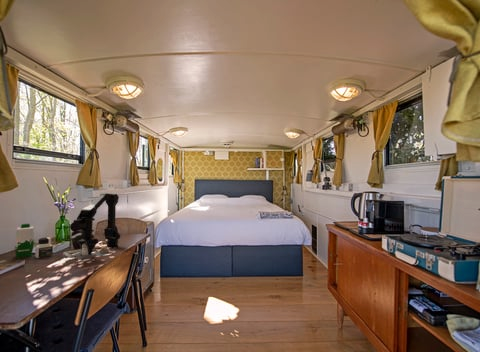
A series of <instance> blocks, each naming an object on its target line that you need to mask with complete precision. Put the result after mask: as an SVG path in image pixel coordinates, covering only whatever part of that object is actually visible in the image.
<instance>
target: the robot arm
mask: <svg viewBox="0 0 480 352" xmlns="http://www.w3.org/2000/svg"><path fill="white" fill-rule="evenodd" d="M119 198H120V197H119V195H118V194H117V193H108V192H107V193H105V192H102V193H100V194H99V195H98V197H97V198H95V199H94V201H93V202H92V203H91V204H89V205H88V206H85V207H83V208H82V209H81V210H80V212H79V214H78V215H77V217H76V219H73V222H72V223H71V224H70V227H69V228H70V230H71V232H75V231H80V233H78V234H76V235H74V236H72V237H71V236H70V241H71V243H72V242H74V243H76V242H78V243H79V244H80V247H81V250H82V245H83V244H84V243H85V245H86V246H87V248H88V255H90V254H91V253H93V251H94V249H95V247H96V246H97V245H98V244H99V239H98V238H96V237H94V238H93V236H92V234H93V232H94V231H95V230H94V229H93V224H94V223H93V222H95V221H96V219H95V218H94V217H95V216H96V214H97V210H98V209H99V208H100V207H102V206H101V205H103V204H104V202H105V204H106V205H107V226H106V227H105V228H104V232H103V235H104V238H105V240H107V241H106V246H107V248H112V249H114V247H115V248H119V247H118V246H119V245H118V244H119V239H120V238H121V234H120V233H119V231H118V227H117V226H116V211H117V210H116V208H117V207H116V206H117V204H118V203H119Z"/></svg>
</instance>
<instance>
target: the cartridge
mask: <svg viewBox="0 0 480 352" xmlns="http://www.w3.org/2000/svg"><path fill="white" fill-rule="evenodd" d="M81 253H82V256H88V248H87V246H86V245H85V243H84V244H83V245H82V252H81Z"/></svg>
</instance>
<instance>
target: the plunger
mask: <svg viewBox="0 0 480 352" xmlns="http://www.w3.org/2000/svg"><path fill="white" fill-rule="evenodd" d="M107 249H108V247H107V245H105V246H104V245H103V246H101V248H100V250H107Z"/></svg>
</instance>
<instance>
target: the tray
mask: <svg viewBox="0 0 480 352" xmlns="http://www.w3.org/2000/svg"><path fill="white" fill-rule="evenodd" d="M62 254H63V256H66V257H67V258H70V259H71V258H74V257H76V255H78V254H82V250H81V249H79V250H74V249H73V250H69V251H64V252H62Z"/></svg>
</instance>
